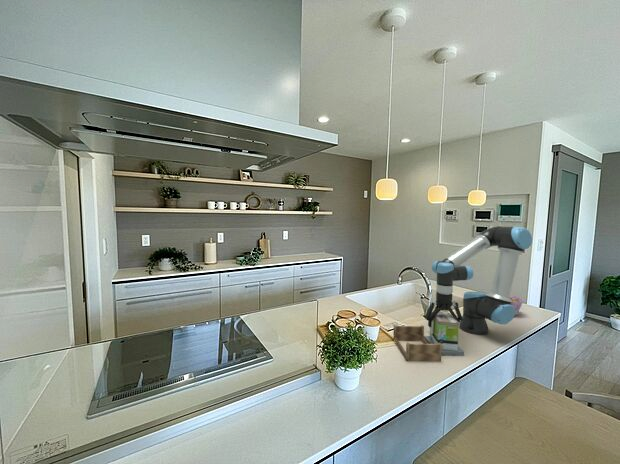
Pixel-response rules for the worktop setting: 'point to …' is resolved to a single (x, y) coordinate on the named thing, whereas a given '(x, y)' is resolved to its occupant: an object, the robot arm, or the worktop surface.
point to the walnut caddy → (416, 350)
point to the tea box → (445, 331)
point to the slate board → (446, 352)
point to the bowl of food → (516, 303)
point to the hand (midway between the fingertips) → (443, 332)
